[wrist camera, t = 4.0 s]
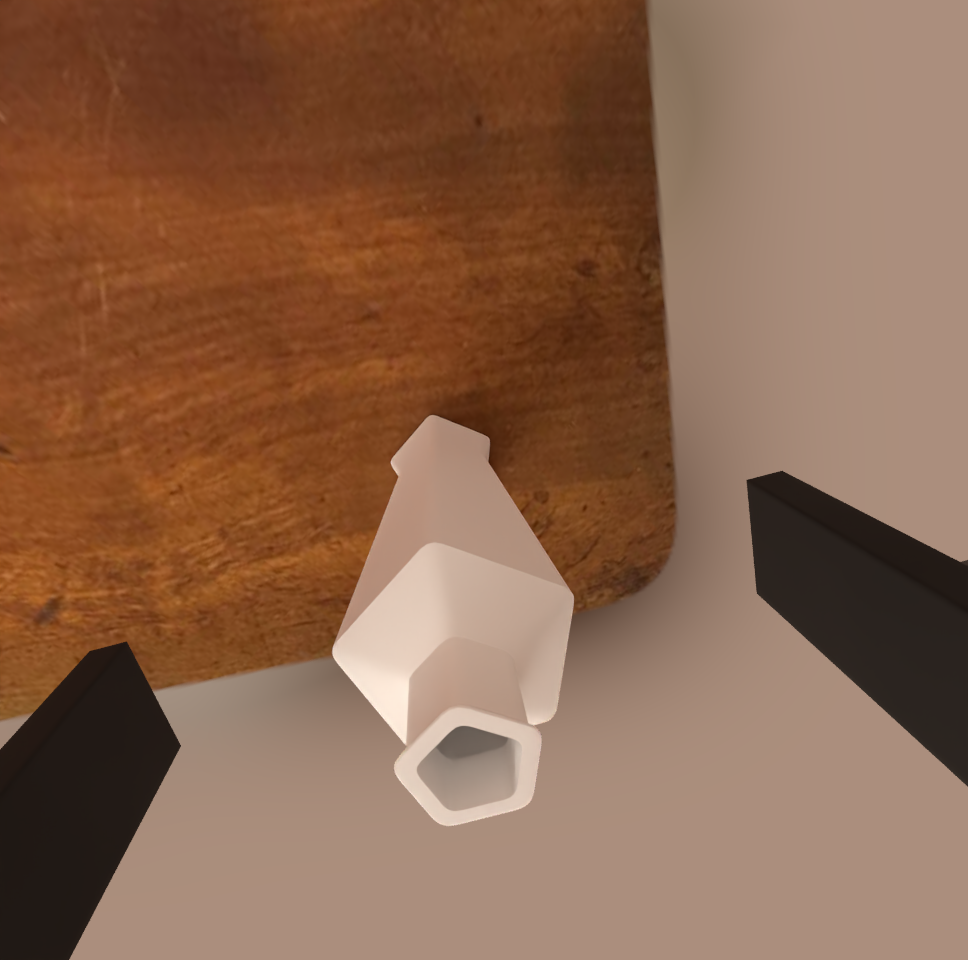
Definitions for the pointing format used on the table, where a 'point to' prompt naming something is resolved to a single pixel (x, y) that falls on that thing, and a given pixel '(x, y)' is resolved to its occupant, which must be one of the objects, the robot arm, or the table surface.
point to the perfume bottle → (458, 629)
